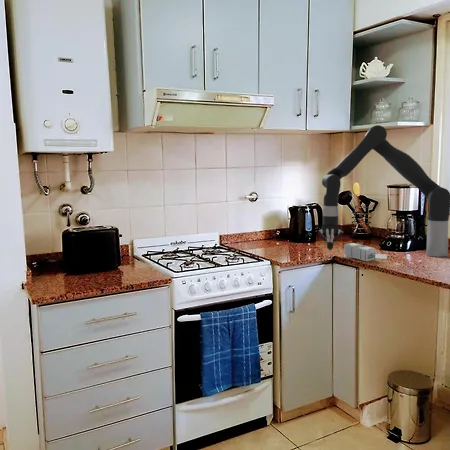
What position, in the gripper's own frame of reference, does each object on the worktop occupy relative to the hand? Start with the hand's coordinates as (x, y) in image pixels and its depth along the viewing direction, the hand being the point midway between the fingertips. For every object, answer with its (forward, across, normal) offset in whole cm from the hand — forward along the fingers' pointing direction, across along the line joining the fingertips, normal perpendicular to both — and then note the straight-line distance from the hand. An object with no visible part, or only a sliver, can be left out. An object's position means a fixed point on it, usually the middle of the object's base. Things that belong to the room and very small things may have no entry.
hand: (330, 249), depth 234 cm
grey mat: (+3, -17, 0) cm, 17 cm away
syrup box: (-1, -9, +2) cm, 9 cm away
